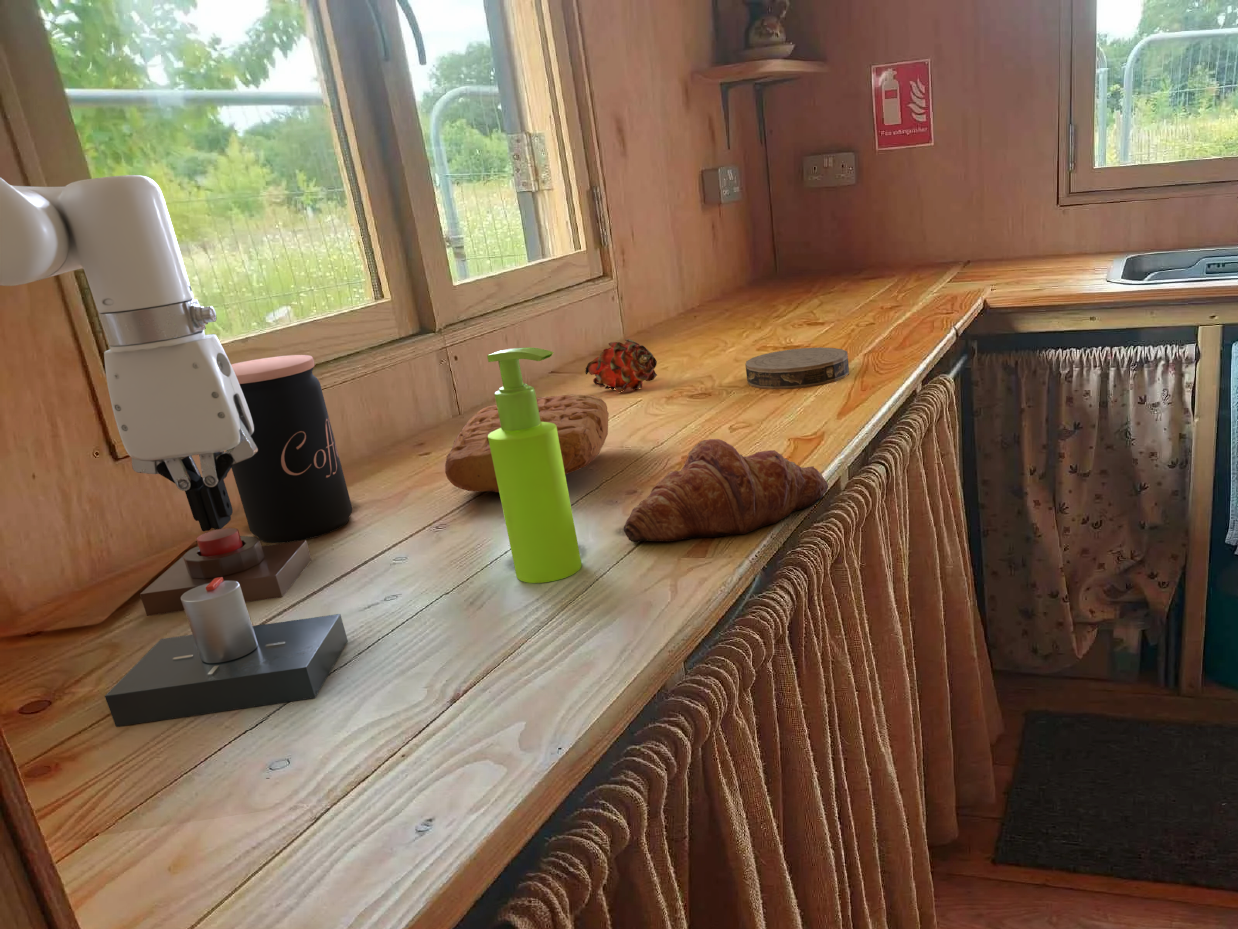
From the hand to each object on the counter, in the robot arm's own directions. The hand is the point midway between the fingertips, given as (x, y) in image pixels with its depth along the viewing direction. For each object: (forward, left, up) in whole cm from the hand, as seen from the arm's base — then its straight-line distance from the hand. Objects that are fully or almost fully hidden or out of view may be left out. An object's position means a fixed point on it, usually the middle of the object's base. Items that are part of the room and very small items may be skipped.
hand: (217, 525), depth 102 cm
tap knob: (+8, -23, -4) cm, 25 cm away
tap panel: (+8, -23, -6) cm, 25 cm away
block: (0, 0, -6) cm, 6 cm away
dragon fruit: (+37, +72, -6) cm, 81 cm away
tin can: (+64, +65, -6) cm, 91 cm away
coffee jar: (+2, +17, -6) cm, 18 cm away
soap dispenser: (+31, -8, -6) cm, 33 cm away
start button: (0, 0, -3) cm, 3 cm away
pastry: (+48, 0, -6) cm, 48 cm away
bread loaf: (+27, +26, -6) cm, 38 cm away
